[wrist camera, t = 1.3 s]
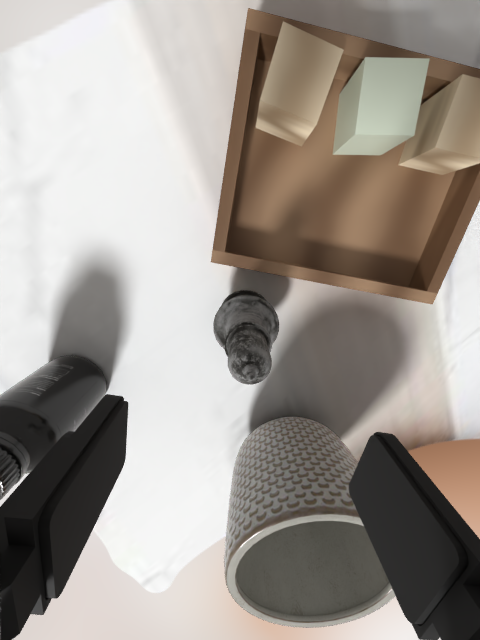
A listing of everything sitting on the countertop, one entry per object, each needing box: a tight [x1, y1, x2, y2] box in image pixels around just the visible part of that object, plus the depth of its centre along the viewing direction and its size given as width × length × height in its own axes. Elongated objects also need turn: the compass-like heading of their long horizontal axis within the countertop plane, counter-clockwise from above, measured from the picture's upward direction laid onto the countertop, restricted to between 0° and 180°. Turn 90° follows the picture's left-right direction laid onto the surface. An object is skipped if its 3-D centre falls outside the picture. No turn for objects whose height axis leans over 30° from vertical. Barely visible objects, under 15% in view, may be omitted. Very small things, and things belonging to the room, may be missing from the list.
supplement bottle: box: [0, 356, 106, 500], centre depth 21 cm, size 7×7×12 cm
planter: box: [224, 417, 395, 628], centre depth 24 cm, size 14×14×13 cm
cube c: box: [256, 21, 344, 147], centre depth 17 cm, size 4×4×4 cm
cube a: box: [398, 74, 480, 175], centre depth 18 cm, size 4×4×4 cm
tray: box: [211, 8, 480, 304], centre depth 20 cm, size 20×16×3 cm
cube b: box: [333, 57, 430, 155], centre depth 17 cm, size 4×4×4 cm
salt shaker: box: [214, 291, 279, 384], centre depth 19 cm, size 6×6×12 cm
